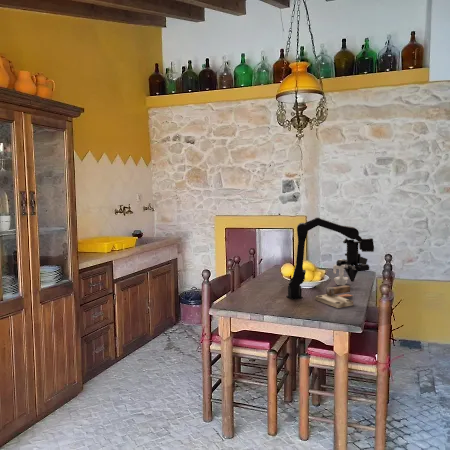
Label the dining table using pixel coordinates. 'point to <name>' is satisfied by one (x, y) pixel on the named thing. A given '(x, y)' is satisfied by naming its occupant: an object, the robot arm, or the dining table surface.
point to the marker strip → (345, 295)
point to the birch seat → (334, 300)
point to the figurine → (340, 274)
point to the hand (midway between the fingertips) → (352, 281)
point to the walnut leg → (337, 290)
